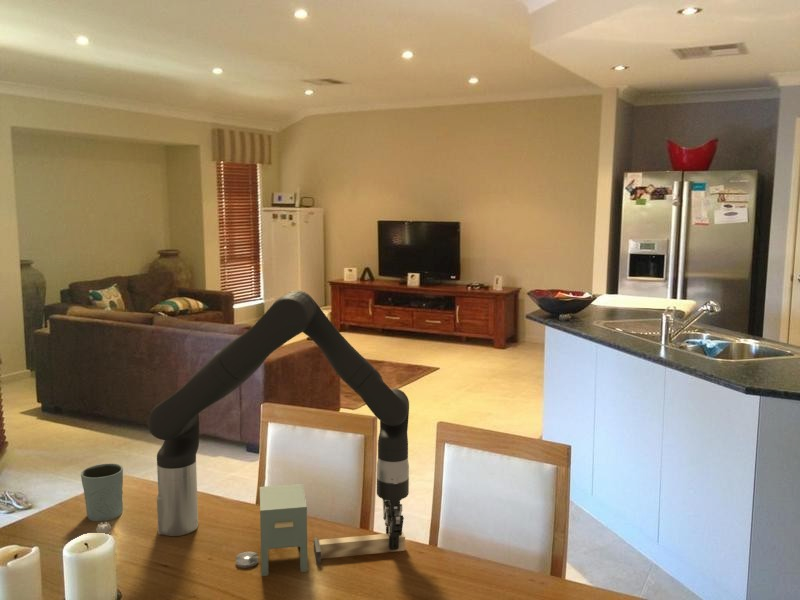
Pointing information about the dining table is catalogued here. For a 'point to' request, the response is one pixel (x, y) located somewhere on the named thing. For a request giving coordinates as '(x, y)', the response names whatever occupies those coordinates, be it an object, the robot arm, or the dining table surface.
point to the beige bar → (354, 546)
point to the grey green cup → (103, 491)
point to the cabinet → (283, 521)
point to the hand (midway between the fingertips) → (392, 544)
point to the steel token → (246, 559)
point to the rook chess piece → (104, 528)
